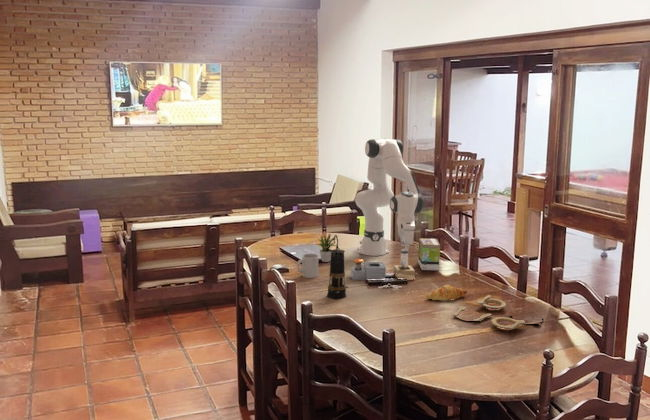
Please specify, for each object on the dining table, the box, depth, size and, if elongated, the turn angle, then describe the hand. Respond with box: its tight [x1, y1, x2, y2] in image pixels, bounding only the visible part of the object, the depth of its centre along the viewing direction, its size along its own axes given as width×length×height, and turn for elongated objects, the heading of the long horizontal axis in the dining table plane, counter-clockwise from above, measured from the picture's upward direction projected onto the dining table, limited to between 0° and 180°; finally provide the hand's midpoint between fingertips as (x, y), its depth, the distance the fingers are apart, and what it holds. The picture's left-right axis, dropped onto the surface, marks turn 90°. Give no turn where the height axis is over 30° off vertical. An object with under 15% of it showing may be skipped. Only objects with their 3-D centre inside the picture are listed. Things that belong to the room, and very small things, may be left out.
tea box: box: [417, 238, 441, 271], centre depth 342 cm, size 15×10×15 cm, turn 179°
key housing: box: [350, 266, 366, 281], centre depth 321 cm, size 7×7×5 cm
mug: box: [296, 253, 319, 279], centre depth 323 cm, size 12×8×11 cm
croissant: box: [425, 284, 468, 301], centre depth 292 cm, size 21×10×8 cm
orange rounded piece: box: [353, 258, 364, 270], centre depth 321 cm, size 5×5×9 cm
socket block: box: [362, 261, 387, 281], centre depth 322 cm, size 10×10×7 cm
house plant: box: [315, 232, 336, 263], centre depth 350 cm, size 14×14×16 cm
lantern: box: [326, 234, 349, 300], centre depth 291 cm, size 9×9×30 cm
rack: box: [393, 264, 416, 281], centre depth 323 cm, size 10×9×5 cm
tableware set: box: [452, 294, 525, 330], centre depth 268 cm, size 35×29×4 cm
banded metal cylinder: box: [400, 248, 410, 270], centre depth 322 cm, size 4×4×14 cm
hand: (404, 248), depth 321 cm, fingers open, 8 cm apart
